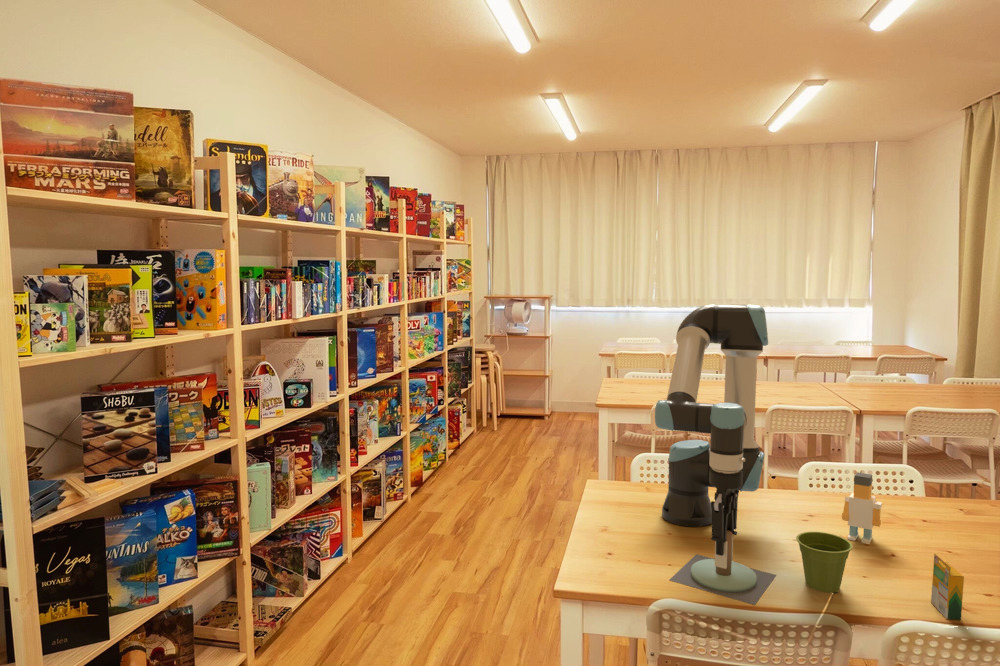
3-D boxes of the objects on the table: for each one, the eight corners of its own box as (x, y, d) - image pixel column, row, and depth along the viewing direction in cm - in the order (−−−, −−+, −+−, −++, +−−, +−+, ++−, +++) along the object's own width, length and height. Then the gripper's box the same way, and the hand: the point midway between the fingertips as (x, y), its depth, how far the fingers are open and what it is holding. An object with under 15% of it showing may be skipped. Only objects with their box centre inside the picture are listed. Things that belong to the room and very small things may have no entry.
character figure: (884, 544, 179) (888, 479, 178) (845, 543, 180) (848, 479, 178) (870, 533, 187) (873, 471, 185) (832, 532, 188) (835, 470, 186)
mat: (668, 582, 158) (668, 580, 158) (696, 556, 172) (696, 554, 172) (754, 607, 146) (754, 604, 146) (776, 577, 160) (776, 574, 160)
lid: (681, 580, 158) (682, 535, 157) (703, 558, 170) (704, 516, 169) (745, 598, 149) (747, 550, 148) (764, 574, 161) (765, 529, 160)
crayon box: (962, 620, 140) (965, 568, 139) (946, 619, 141) (949, 567, 140) (945, 603, 147) (948, 553, 146) (930, 602, 148) (933, 552, 147)
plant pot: (786, 575, 161) (788, 531, 160) (835, 576, 161) (837, 531, 160) (807, 599, 150) (809, 551, 149) (860, 600, 149) (862, 552, 148)
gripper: (730, 480, 148) (728, 580, 150) (752, 463, 161) (749, 555, 163) (698, 474, 152) (695, 572, 155) (721, 458, 166) (719, 548, 168)
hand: (723, 563), depth 159 cm, fingers closed on lid, 3 cm apart
